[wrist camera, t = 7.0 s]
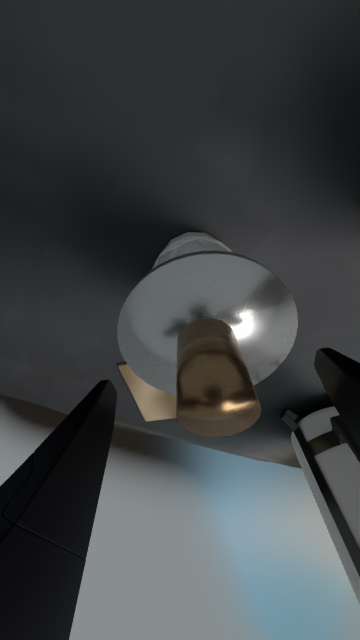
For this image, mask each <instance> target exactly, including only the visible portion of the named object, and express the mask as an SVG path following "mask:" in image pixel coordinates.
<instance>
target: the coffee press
mask: <svg viewBox="0 0 360 640" xmlns="http://www.w3.org/2000/svg"><path fill="white" fill-rule="evenodd" d="M280 418H281V419H282V420H283V421H284V422H285V423H286V424H287V425H288V426H289V427H290V429H291V430H292V434H291V442H292V445H293V448H294V450H295V453H296V455H297V458H298V460H299V462H300V465H301V467H302V470H303V472H304V474H305V476H306V479H307V481H308V484H309V486H310V489H311V491H312V493H313V496H314V498H315V500H316V503H317V505H318V507H319V510H320V512H321V514H322V517H323V519H324V522H325V524H326V526H327V529H328V531H329V533H330V536H331V538H332V540H333V542H334V545H335V547H336V550H337V552H338V555H339V557H340V559H341V561H342V564H343V566H344V568H345V571H346V573H347V576H348V578H349V581H350V583H351V585H352V587H353V590H354V592H355V594H356V597H357V599H358V602H359V604H360V447H359V445H358V444H357V442H356V440H355V439H354V437H353V436H352V434H351V432H350V431H349V429H348V428H347V426H346V424H345V423H344V421H343V420H342V418H341V416H340V415H339V413H338V412H337V410H336V408H335V407H334V406H333V407H328V408H324V409H321V410H318V411H316V412H313V413H311V414H309V415H307V416H306V417H301V416H299V415H297V414H296V413H295V412H293V411H292V410H291V409H289V408H285V409H284V410H283V412H282V413H281V414H280ZM294 421H295V422H297V424H296V423H295V422H294Z"/></svg>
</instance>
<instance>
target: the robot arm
mask: <svg viewBox="0 0 360 640" xmlns="http://www.w3.org/2000/svg"><path fill="white" fill-rule="evenodd" d="M314 366H315V369H316V371H317V373H318V375H319V377H320V379H321V381H322V383H323V385H324V388H325V390H326V392H327V394H328V396H329V398H330V400H331V402H332V403H333V405H334V407H335V408H336V410H337V412H338V413H339V415H340V416H341V418H342V420H343V421H344V423H345V424H346V426H347V428H348V429H349V431H350V432H351V434H352V436H353V437H354V439H355V440H356V442H357V444H358V445H359V447H360V363H359V362H357V361H355V360H353V359H351V358H349V357H347V356H345V355H343V354H341V353H339V352H337V351H335V350H333V349H331V348H321V349H318V350H317V352H316V357H315V362H314ZM116 401H117V391H116V389H115V387H114V386H113V384H112V382H111V381H110V380H102V381H100V382H99V383H98V384H97V385H96V386H95V387H94V388H93V389H92V390H91V391H90V392H89V393H88V394H87V396H86V397H85V398H84V399H83V400H82V401H81V402H80V403H79V404H78V405H77V406H76V407H75V408H74V409H73V410H72V412H71V413H70V414H69V415H68V416H67V417H66V418H65V419H64V420H63V421H62V422H61V423H60V424H59V426H58V427H57V428H56V429H55V430H54V431H53V432H52V433H51V434H50V435H49V436H48V437H47V438H46V439H45V440H44V442H43V443H42V444H41V445H40V446H39V447H38V448H37V449H36V450H35V451H34V453H32V454H31V455H30V456H29V457H28V459H27V460H26V461H25V462H24V463H23V464H22V465H21V466H20V467H19V468H18V469H17V470H16V471H15V472H14V473H13V474H12V475H11V476H10V477H9V478H8V479H7V480H6V481H5V482H4V483H3V484H2V485H1V486H0V640H69V636H70V632H71V627H72V622H73V618H74V613H75V608H76V603H77V598H78V594H79V589H80V584H81V580H82V575H83V571H84V566H85V561H86V556H87V551H88V546H89V541H90V537H91V532H92V527H93V523H94V518H95V513H96V508H97V504H98V499H99V495H100V490H101V485H102V481H103V476H104V471H105V467H106V461H107V457H108V452H109V448H110V443H111V438H112V433H113V428H114V420H115V410H116Z"/></svg>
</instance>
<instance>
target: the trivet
mask: <svg viewBox="0 0 360 640" xmlns="http://www.w3.org/2000/svg"><path fill="white" fill-rule="evenodd" d="M118 367H119V369H120V371H121V373H122V375H123V377H124V379H125V381H126V383H127V385H128V387H129V389H130V391H131V393H132V395H133V397H134V399H135V401H136V403H137V405H138V407H139V409H140V411H141V413H142V415H143V417H144V419H145V421H155V420H163V419H171V418H176V395H172V394H169V393H166V392H163V391H161V390H158V389H156V388H154V387H152V386H151V385H149V384H147V383H146V382H144V381H143V380H142V379H140V378H139V377H138V376H137V375H136V374H135V373H134V372H133V371H132V370H131V368H130V367H129V366H128V365H127V363H120V364H118Z"/></svg>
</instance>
